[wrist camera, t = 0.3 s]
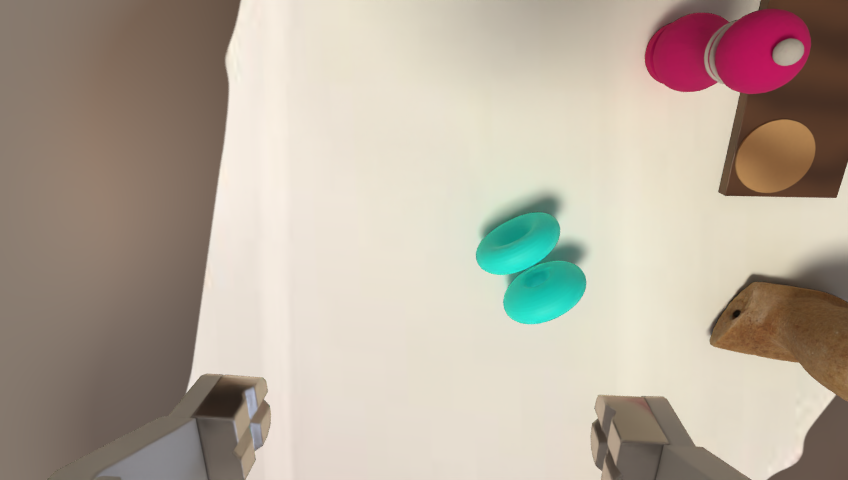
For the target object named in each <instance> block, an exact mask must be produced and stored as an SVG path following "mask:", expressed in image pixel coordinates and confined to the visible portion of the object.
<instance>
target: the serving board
mask: <svg viewBox="0 0 848 480" xmlns="http://www.w3.org/2000/svg"><path fill="white" fill-rule="evenodd" d="M763 9H781V10H786V11H789V12H792V13H794V14H795V15H797V16H798V17H800V18H801V19H802V20H803V21H804V23H805V24H806V25H807V28H808V30H809V33H810V37H811V48H810V53H809V56H808V59H807V61H806V63H805V65H804V66H803V68H802V69H801V70H800V71H799V73H798V74H797V75H796V76H795V77H794V78H793V79H792V80H790V81H789V82H788V83H786V84H785V85H783V86H781V87H779V88H777V89H775V90H772V91H769V92H765V93H758V94H746V93H740V98H739V102H738V107H737V111H736V116H735V120H734V125H733V129H732V134H731V138H730V143H729V147H728V152H727V156H726V161H725V165H724V170H723V174H722V179H721V183H720V188H719V193H721V194H723V195H725V196H768V197H819V198H836V197H837V195H838V191H839V188H840V185H841V182H842V179H843V175H844V172H845V169H846V166H847V163H848V0H761V3H760V8H759V10H763Z"/></svg>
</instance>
